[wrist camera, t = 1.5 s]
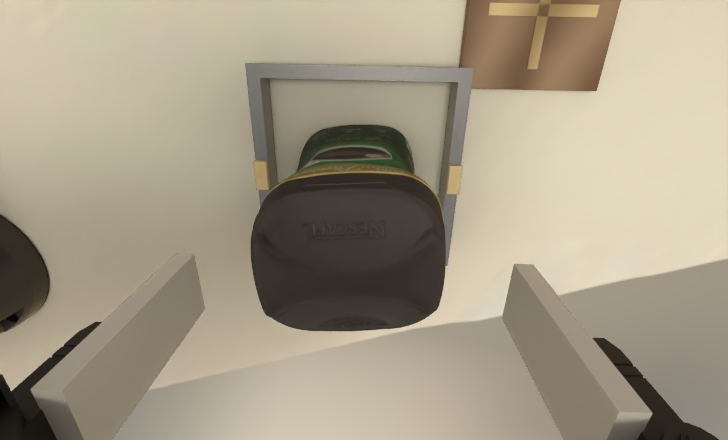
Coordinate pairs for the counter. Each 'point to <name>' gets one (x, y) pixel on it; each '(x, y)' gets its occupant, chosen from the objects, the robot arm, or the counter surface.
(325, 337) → the counter surface
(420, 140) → the counter surface
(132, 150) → the counter surface
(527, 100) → the counter surface
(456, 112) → the grey square shallow frame
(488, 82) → the pad
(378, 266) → the coffee jar
